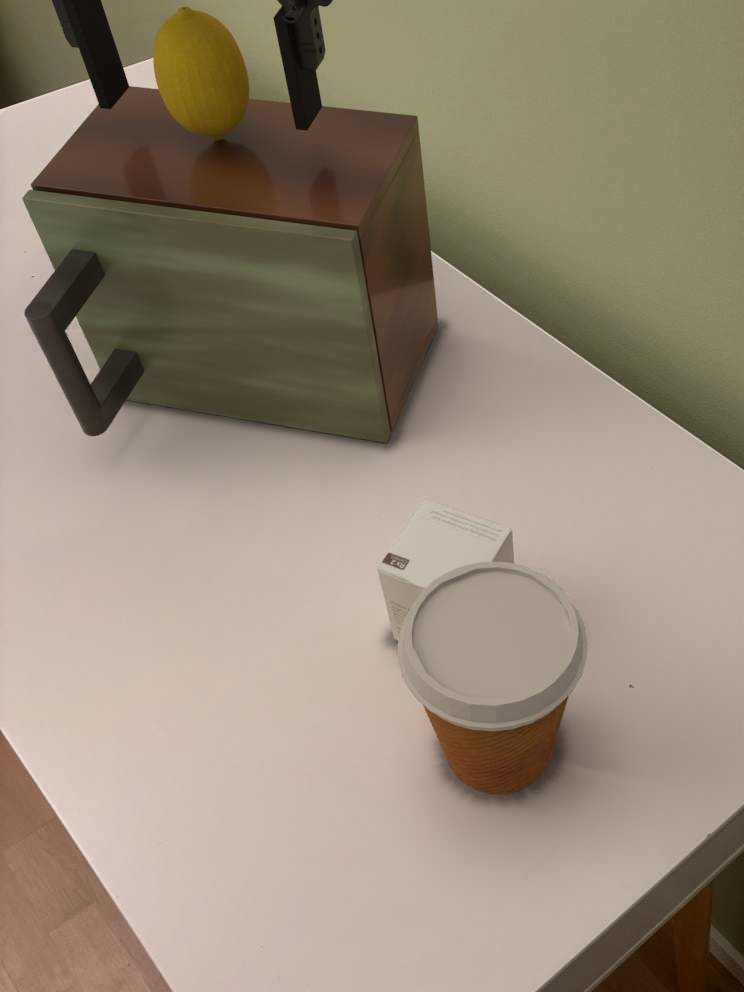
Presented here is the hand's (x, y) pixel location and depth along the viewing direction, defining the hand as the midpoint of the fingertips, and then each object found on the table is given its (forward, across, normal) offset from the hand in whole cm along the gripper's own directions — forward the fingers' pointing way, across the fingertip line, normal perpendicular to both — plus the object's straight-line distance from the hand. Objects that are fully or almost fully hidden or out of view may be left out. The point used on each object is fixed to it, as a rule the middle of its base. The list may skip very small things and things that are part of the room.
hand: (210, 108), depth 65 cm
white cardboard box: (+19, -21, +22) cm, 36 cm away
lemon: (+2, 0, 0) cm, 2 cm away
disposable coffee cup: (+19, -26, +30) cm, 44 cm away
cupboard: (+19, -1, +1) cm, 19 cm away
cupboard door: (+19, -1, +11) cm, 22 cm away
